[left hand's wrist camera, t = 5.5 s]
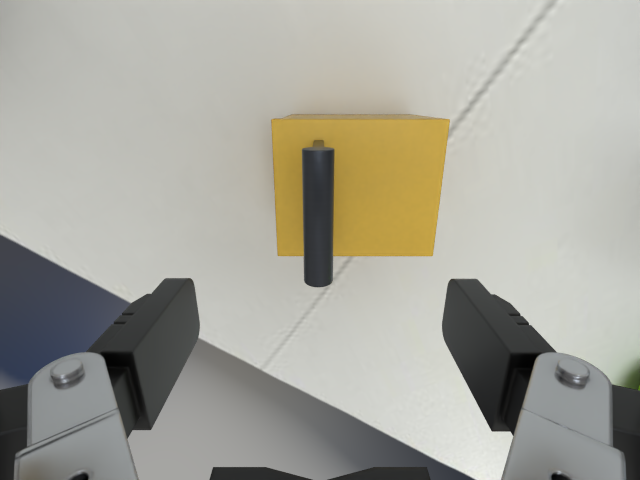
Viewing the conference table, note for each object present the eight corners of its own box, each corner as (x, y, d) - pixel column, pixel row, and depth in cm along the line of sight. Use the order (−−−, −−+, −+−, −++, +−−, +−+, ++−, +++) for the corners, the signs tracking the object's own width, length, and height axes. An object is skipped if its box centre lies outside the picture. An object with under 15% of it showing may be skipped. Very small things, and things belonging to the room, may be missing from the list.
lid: (279, 250, 28) (264, 305, 21) (273, 118, 25) (252, 125, 17) (428, 250, 28) (468, 305, 21) (444, 118, 25) (500, 125, 17)
